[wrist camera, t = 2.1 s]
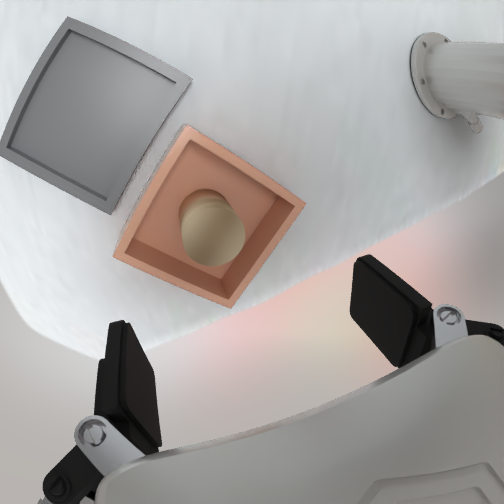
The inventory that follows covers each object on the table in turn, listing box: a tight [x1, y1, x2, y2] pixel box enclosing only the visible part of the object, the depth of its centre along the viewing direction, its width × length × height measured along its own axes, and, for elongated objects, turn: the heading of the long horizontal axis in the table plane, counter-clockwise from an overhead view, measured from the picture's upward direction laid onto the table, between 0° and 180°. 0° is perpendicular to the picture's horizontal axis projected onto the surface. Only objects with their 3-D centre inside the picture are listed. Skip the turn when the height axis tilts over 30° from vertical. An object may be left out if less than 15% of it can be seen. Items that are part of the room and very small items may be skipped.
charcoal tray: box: [0, 16, 193, 215], centre depth 20 cm, size 14×14×2 cm
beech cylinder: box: [179, 189, 245, 266], centre depth 26 cm, size 5×5×6 cm
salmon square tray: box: [113, 124, 306, 308], centre depth 27 cm, size 13×13×4 cm
